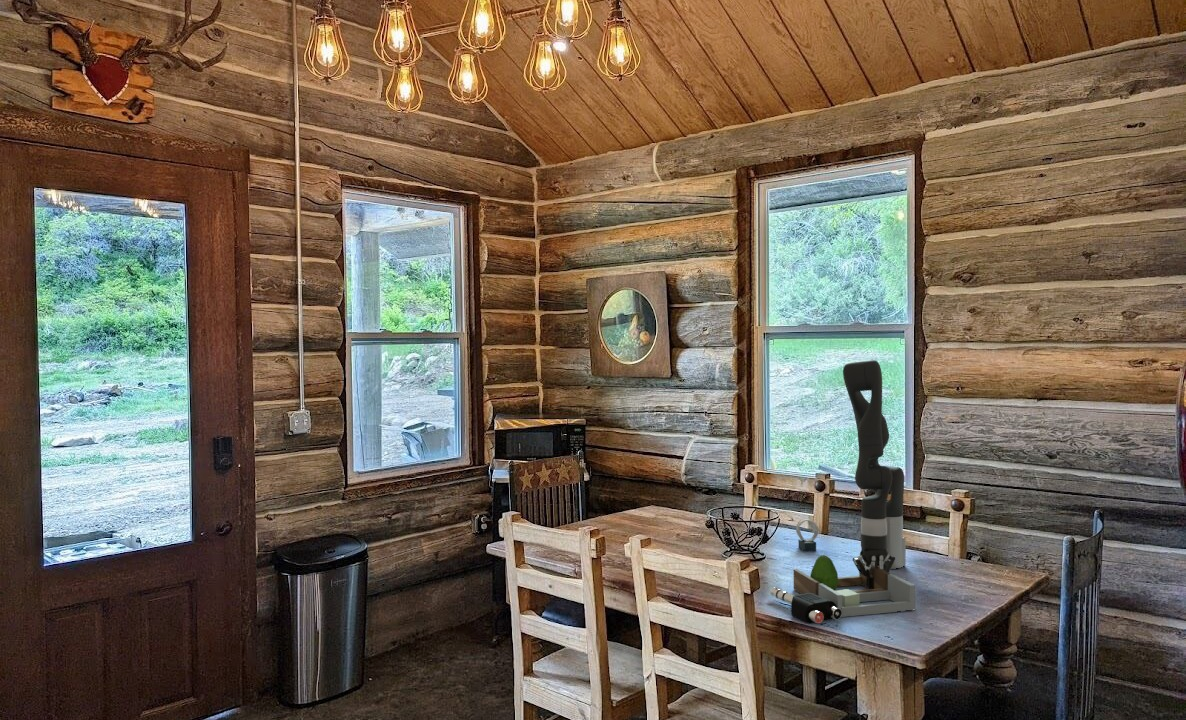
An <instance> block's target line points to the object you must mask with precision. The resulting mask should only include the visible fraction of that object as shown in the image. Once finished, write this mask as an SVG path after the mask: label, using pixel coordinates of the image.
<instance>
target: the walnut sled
mask: <svg viewBox="0 0 1186 720" xmlns="http://www.w3.org/2000/svg"><path fill="white" fill-rule="evenodd" d="M862 561H863V563H862V564H863V566H864V568H865V562H864V560H862ZM865 570H866V569H865ZM858 573H859V574H858V575H855V576H853V575H852V576H843V577H842V576H840V577H838V585H837V587H849V586H864V587H865V588H867V589H856V590H853V591H854V592H856V593H862V592H873V591H885V590H888V575H889V574H891V573H890V572H889V573H888V572H886V571H884V570H882V569H880V568H878V567H876V566H875V569H874V571H873V578H874V589H868V587H867V586H866V577H865V576H864V575H862V574H860V572H859V571H858ZM810 576H811V575H810ZM810 576H809V575H808V574H806V573H805V572H803V571H801V570H799V569H798V568H794V569H793V590H794V591H796V592H797V593H798V594H806V593H813V594H815V595H818V596H819V586H818V584H819V582H818V581H816V580H815V579H813V578H811V577H810Z"/></svg>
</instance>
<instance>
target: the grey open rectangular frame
mask: <svg viewBox="0 0 1186 720" xmlns="http://www.w3.org/2000/svg"><path fill="white" fill-rule="evenodd" d="M818 586H819V596H820V597H823V598H825V599H828V600H830V601H832V602H834V603H835V604H836V607H837V608H839V609H841V611H842V616H841V618H844V617H854V616H855V617H856V616H867V615H868V616H869V615H876V614H887V613H897V611H901V612H905V611H904V610H912V611H914V610H913V609H915V610H916V584H914V583H912V582H910V581H908V580H905V579H904V578H901V577H899V576H897V575H896V574H894V573H893V574H892V573H890V574H889V575H888V590H885V591H873V592H862V593H858V594H860V603H865V602H876V601H887V600H890V601H892V602H883V603H881V602H880V603H870V604H860V605H857V606H846V607H842V595H841V594H839V593H838V592H836V591H837V590H835V591H834V590H833V589H831V588H829V587H828V586H826V585H824V584H823V583H820V584H818Z"/></svg>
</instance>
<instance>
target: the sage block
mask: <svg viewBox="0 0 1186 720" xmlns="http://www.w3.org/2000/svg"><path fill="white" fill-rule="evenodd" d="M835 591H836V592H838V593H839V594H841V595H842V607H846V606H857V605H861V604H860V603H861V602H860V594H858V593H856V592H854V590H851V589H849V588H847V589H845V588H844V589H839V590H835Z"/></svg>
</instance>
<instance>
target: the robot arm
mask: <svg viewBox="0 0 1186 720" xmlns="http://www.w3.org/2000/svg"><path fill="white" fill-rule="evenodd" d="M842 375H843V381H844V385H845V388H846V391H847V395H848V398H849V400H850V403H851V407H852V409H853V414H854V415H853V416H854V420H855V424H856V429H857V442H858V459H857V466H856V470H855V475H854V481H855V484H856V486H857V487H858V488H859V489H861V490H870V491H872V492H873V493H874V494H872V495H868V496H865V497H863V498H862V500H861V518H860V519H861V520H860V547H861V550H860V553H859V555H858V556H857V557H855V556H854V557H853V558H852V561H853V563H854V565H855V567H856V569H857V570H858V573H859V572H860V574H862V575H864V576H865V577H866V586H867V587H868V588H867V587H866V588H867V589H874V578H873V571H874V569H875V566H876V567H878V568H880V569H882V570H884V571H886V572H888V573H890V570H896V568H899V569H902V568H904V567H903V566H906V563H907V561H906V560H907V559H906V550H907V549H906V548H907V547H906V538H905V537H904V531H903V530H904V524H903V523H904V518H903V516H904V513H903V512H904V511H903V510H904V490H905V474H904V470H903V469H902V467H898V466H891V465H881V464H880V463H879V459H880V458H881V457H883V455H884V449H885V448H886V446H887V445H888V442H889V440H890V432H889V427H888V423H887V420H886V418H885V416H884V415H883V413H882V411H883V372H882V368H881V365H880V363H879V362H878V361H877V360H876V359H874V360H873V359H872V360H864V361H863V360H862V361H853V362H847V363H846V364H844V366H843V370H842ZM865 391H870V392H871V394H870V395H871V396H870V399H869V400H870V401H868V400H867V399H866V398H865V396H864V395H863V394H862V392H865ZM889 495H890V498H889V497H888V496H889ZM888 498H889V499H888ZM863 561H864V562H865V568H864V566H863V564H862V563H863ZM901 567H902V568H901ZM906 567H907V566H906ZM865 569H866V570H865Z"/></svg>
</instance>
